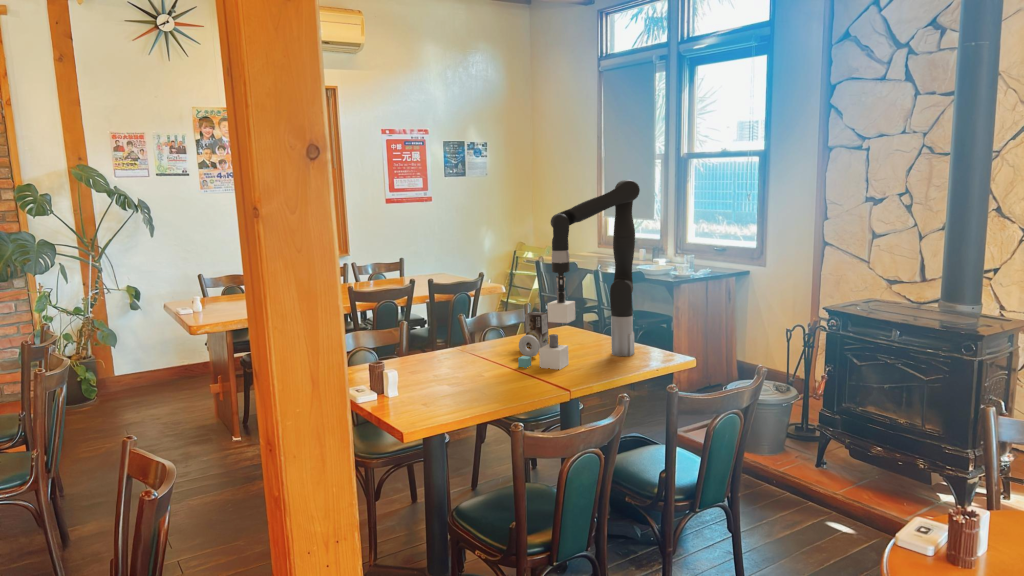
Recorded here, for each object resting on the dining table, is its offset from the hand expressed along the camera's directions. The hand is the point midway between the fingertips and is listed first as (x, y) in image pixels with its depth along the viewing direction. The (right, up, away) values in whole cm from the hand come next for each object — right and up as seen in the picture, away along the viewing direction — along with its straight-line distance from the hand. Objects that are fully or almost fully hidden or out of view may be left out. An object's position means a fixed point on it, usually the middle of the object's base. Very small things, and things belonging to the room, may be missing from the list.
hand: (561, 300), depth 285 cm
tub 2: (-4, -27, -11) cm, 29 cm away
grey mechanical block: (-9, -22, +25) cm, 35 cm away
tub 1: (0, -9, +1) cm, 9 cm away
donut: (-14, -25, +6) cm, 29 cm away
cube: (-16, -27, -10) cm, 33 cm away
